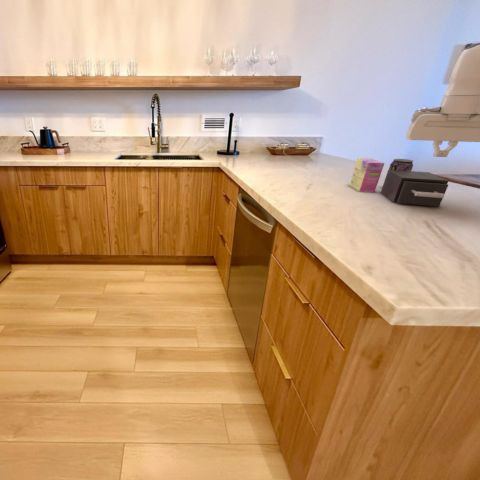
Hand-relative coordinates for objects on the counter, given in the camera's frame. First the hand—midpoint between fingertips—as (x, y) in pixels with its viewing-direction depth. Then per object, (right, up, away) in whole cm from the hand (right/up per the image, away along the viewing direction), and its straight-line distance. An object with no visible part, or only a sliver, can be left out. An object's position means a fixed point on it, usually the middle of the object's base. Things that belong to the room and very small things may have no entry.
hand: (439, 156), depth 88 cm
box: (-3, -5, +30) cm, 30 cm away
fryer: (+4, -11, +16) cm, 20 cm away
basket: (+2, -12, +12) cm, 17 cm away
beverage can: (+9, -5, +29) cm, 31 cm away
